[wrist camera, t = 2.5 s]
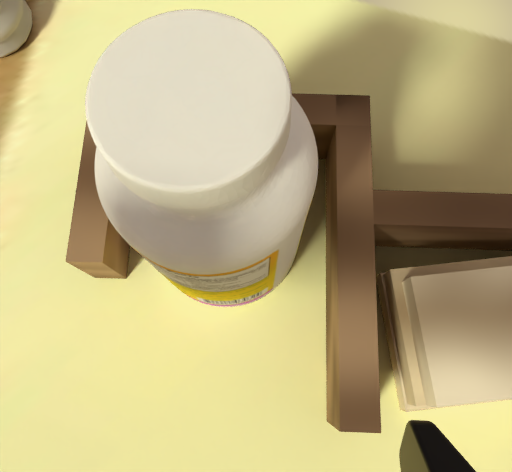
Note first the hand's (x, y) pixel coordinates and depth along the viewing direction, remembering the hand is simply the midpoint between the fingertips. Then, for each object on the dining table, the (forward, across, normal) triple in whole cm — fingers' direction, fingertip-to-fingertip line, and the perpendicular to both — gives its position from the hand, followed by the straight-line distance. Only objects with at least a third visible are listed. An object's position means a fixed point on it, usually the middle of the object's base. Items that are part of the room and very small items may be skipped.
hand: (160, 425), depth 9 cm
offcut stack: (+11, -11, +7) cm, 17 cm away
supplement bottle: (+14, 0, +4) cm, 15 cm away
